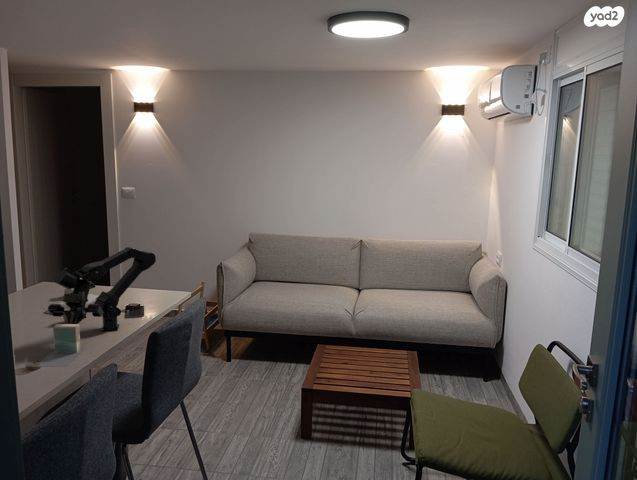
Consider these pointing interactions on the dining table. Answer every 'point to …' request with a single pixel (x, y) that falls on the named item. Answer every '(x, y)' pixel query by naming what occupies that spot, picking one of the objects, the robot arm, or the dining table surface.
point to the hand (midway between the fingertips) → (70, 330)
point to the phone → (135, 313)
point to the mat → (59, 359)
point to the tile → (66, 338)
